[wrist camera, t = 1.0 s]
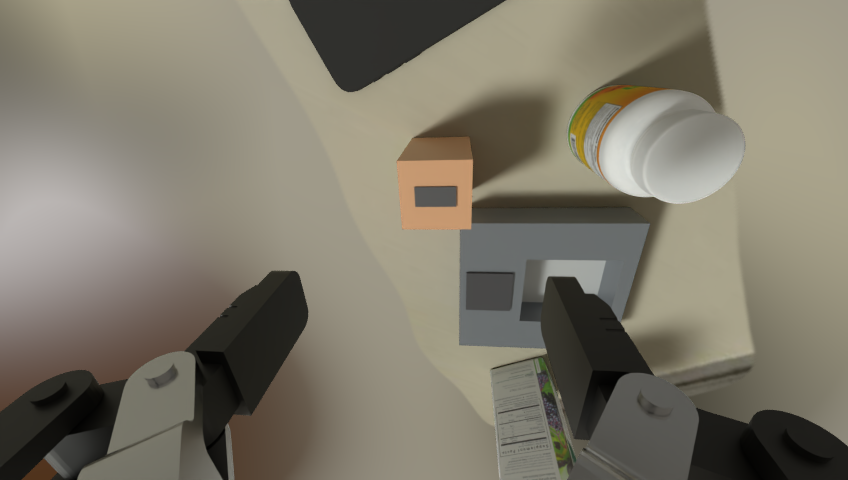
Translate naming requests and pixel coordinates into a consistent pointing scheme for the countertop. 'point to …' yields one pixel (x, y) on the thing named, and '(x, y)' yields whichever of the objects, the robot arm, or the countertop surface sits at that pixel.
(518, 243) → the plate
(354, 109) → the countertop surface
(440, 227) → the block
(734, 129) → the supplement bottle
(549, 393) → the syrup box
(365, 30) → the phone
